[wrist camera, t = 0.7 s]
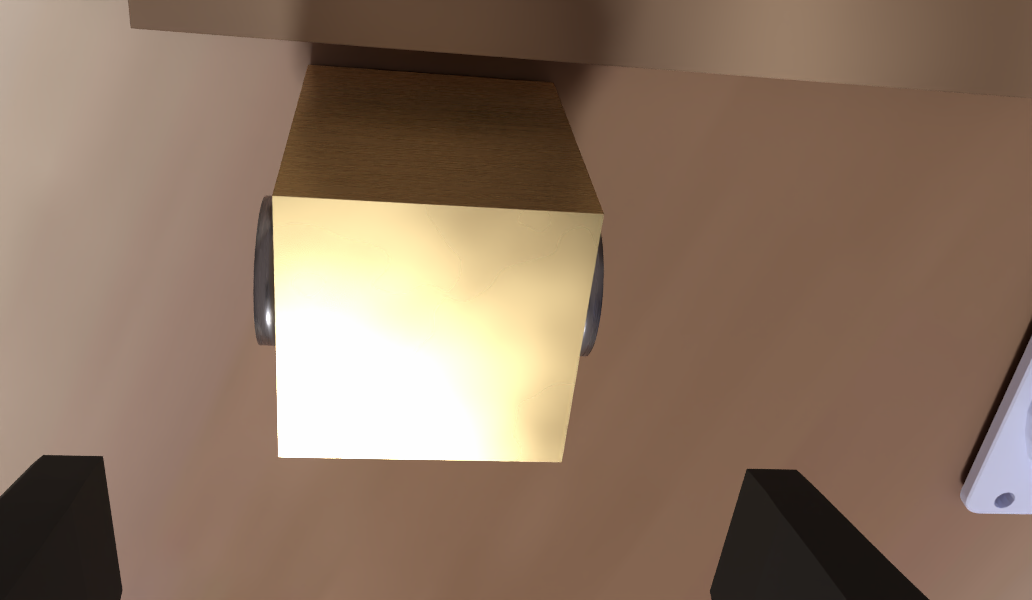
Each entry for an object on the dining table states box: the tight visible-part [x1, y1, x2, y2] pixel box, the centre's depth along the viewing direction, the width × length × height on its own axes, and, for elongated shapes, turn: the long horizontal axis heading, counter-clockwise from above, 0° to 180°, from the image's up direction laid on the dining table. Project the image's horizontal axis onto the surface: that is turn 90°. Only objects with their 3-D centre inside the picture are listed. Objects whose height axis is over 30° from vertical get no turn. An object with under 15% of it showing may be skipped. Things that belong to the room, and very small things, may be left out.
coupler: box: [254, 65, 604, 462], centre depth 17 cm, size 5×4×6 cm
